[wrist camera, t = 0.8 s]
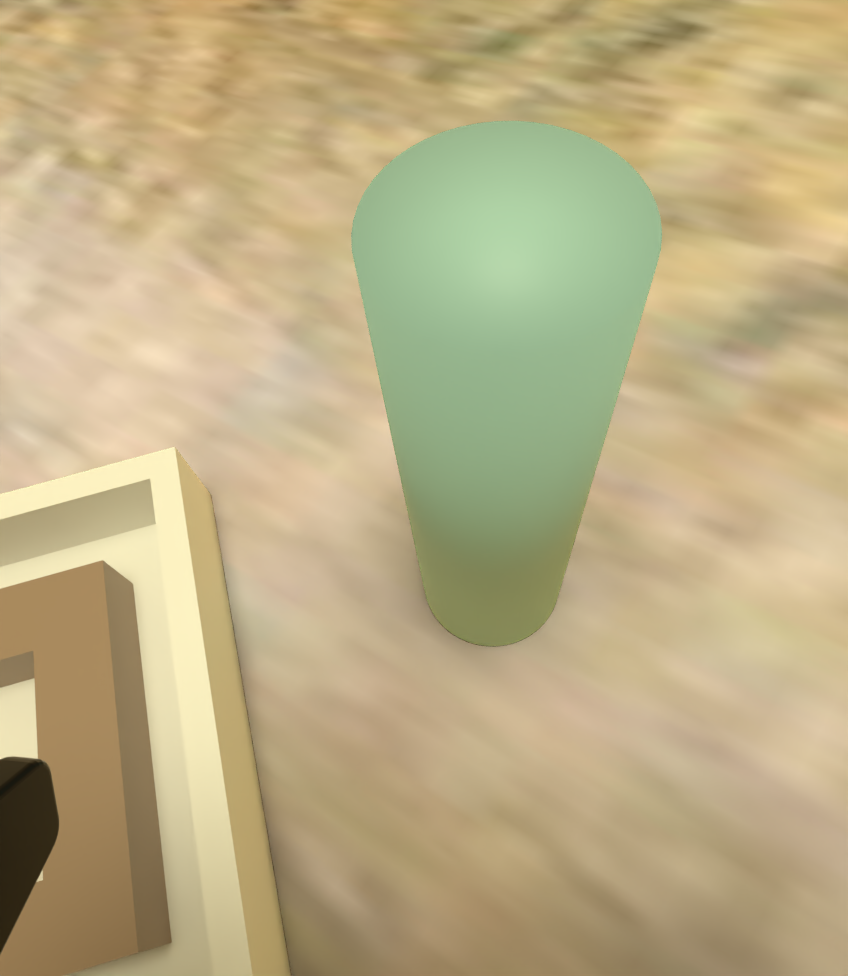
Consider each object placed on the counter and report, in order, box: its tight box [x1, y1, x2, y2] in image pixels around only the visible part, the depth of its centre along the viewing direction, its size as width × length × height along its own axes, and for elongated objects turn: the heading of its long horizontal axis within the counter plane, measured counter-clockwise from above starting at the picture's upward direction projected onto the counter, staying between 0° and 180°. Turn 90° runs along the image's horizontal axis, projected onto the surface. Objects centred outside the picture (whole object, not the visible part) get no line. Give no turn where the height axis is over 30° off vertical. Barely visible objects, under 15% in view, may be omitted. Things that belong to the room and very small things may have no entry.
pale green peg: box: [351, 121, 662, 646], centre depth 16 cm, size 4×4×14 cm
